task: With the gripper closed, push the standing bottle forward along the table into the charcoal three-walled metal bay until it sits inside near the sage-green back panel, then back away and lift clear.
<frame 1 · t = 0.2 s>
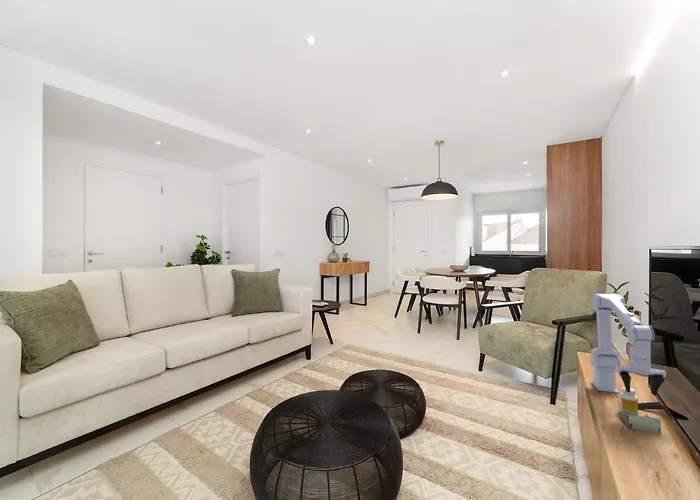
hand: (640, 392, 119), 10 cm above the tv stand, tool pointing down, fingers open, 7 cm apart
seating bay: (637, 423, 117), on the tv stand
supplement bottle: (628, 414, 123), on the tv stand
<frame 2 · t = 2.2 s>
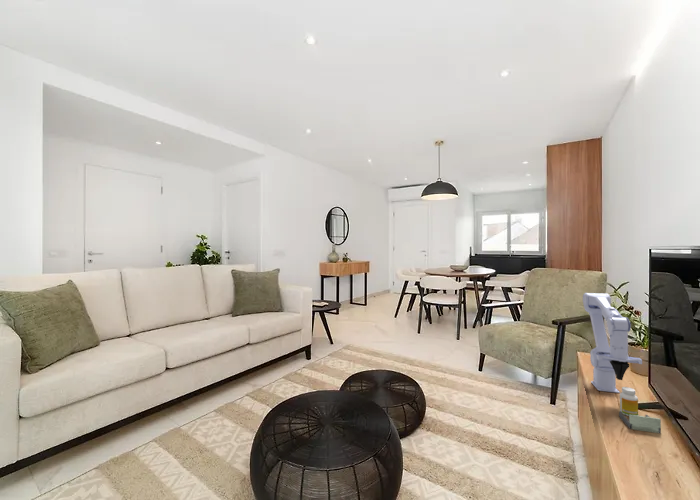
hand: (619, 379, 131), 10 cm above the tv stand, tool pointing down, fingers closed
nothing on the tv stand moved.
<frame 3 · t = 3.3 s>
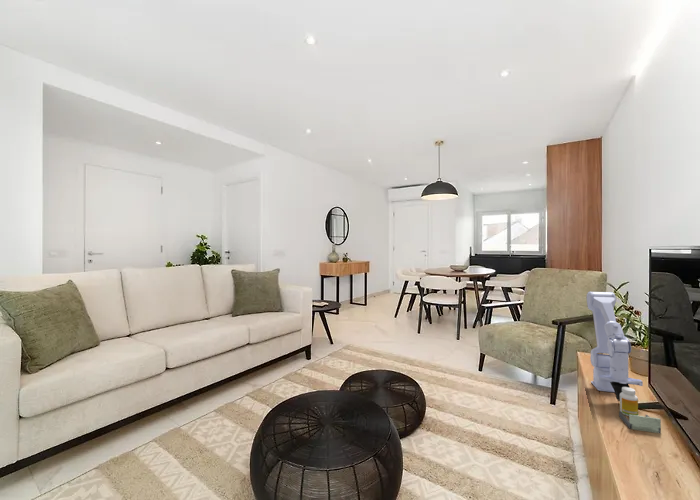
hand: (619, 400, 131), 1 cm above the tv stand, tool pointing down, fingers closed
nothing on the tv stand moved.
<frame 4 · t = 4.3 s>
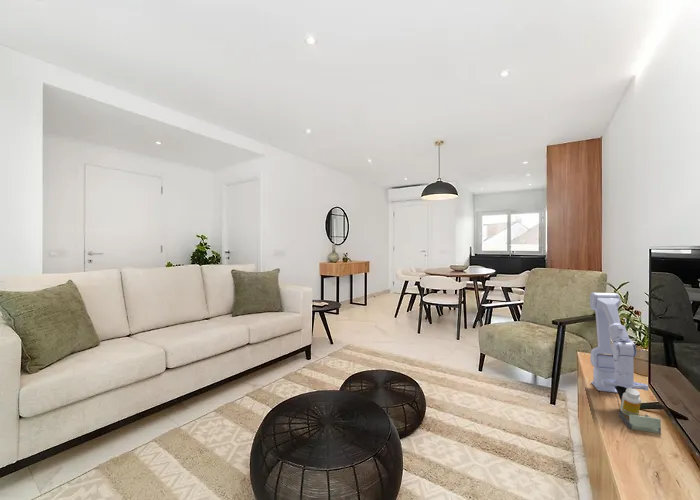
hand: (624, 405, 127), 1 cm above the tv stand, tool pointing down, fingers closed
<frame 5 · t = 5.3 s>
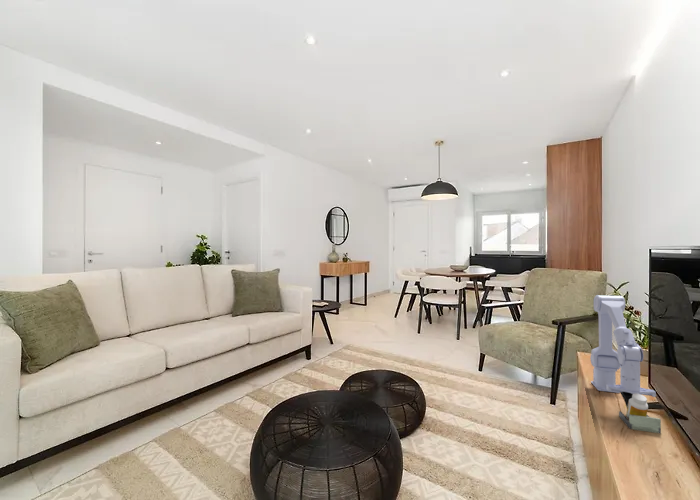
hand: (630, 411, 122), 1 cm above the tv stand, tool pointing down, fingers closed, pressing on supplement bottle
supplement bottle: (635, 419, 119), on the tv stand, touching gripper
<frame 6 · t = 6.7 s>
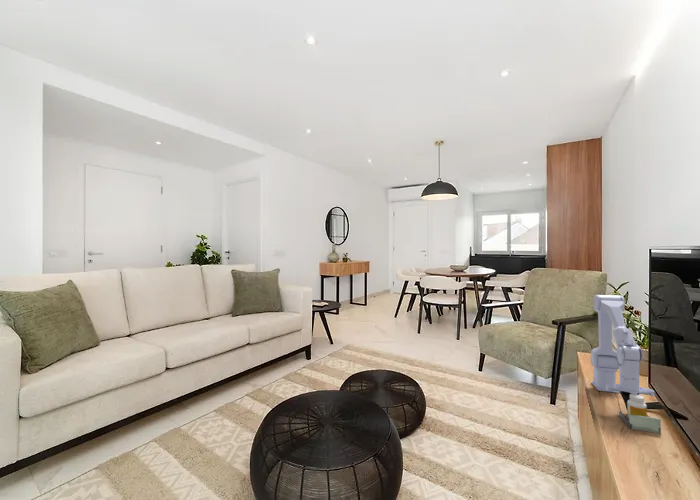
hand: (629, 411, 123), 1 cm above the tv stand, tool pointing down, fingers closed
supplement bottle: (637, 422, 117), on the tv stand
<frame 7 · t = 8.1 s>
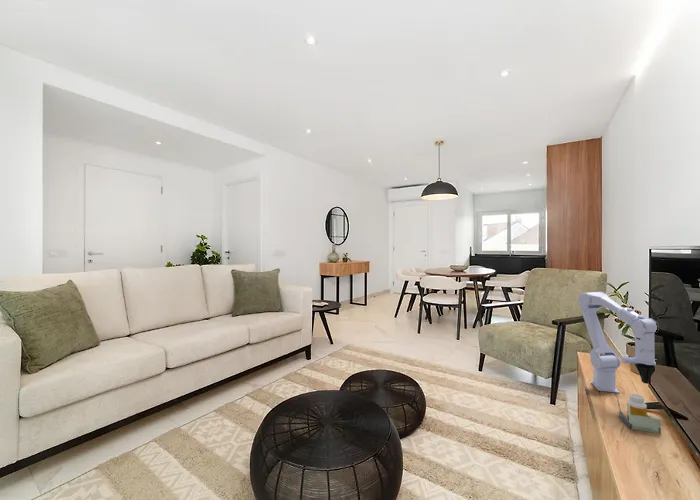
hand: (645, 382, 127), 10 cm above the tv stand, tool pointing down, fingers closed
nothing on the tv stand moved.
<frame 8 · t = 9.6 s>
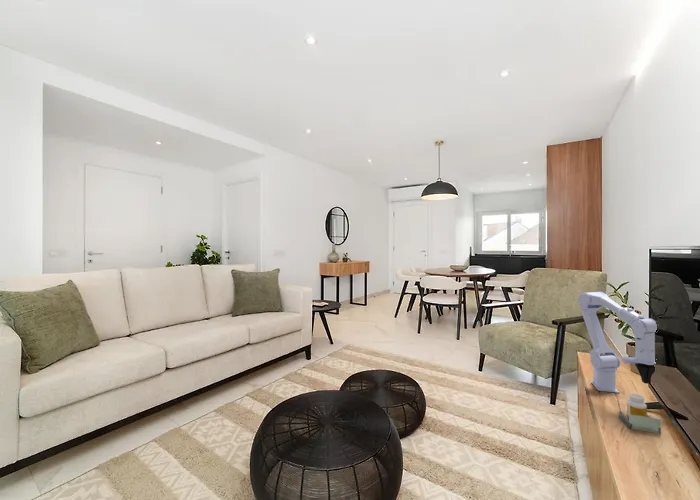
hand: (645, 382, 127), 10 cm above the tv stand, tool pointing down, fingers closed
nothing on the tv stand moved.
at the end: supplement bottle 1.6 cm off-centre on the seating bay, point 0.0 cm above the seating bay's base; supplement bottle tilted 0°; supplement bottle moved 6.3 cm from its start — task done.
